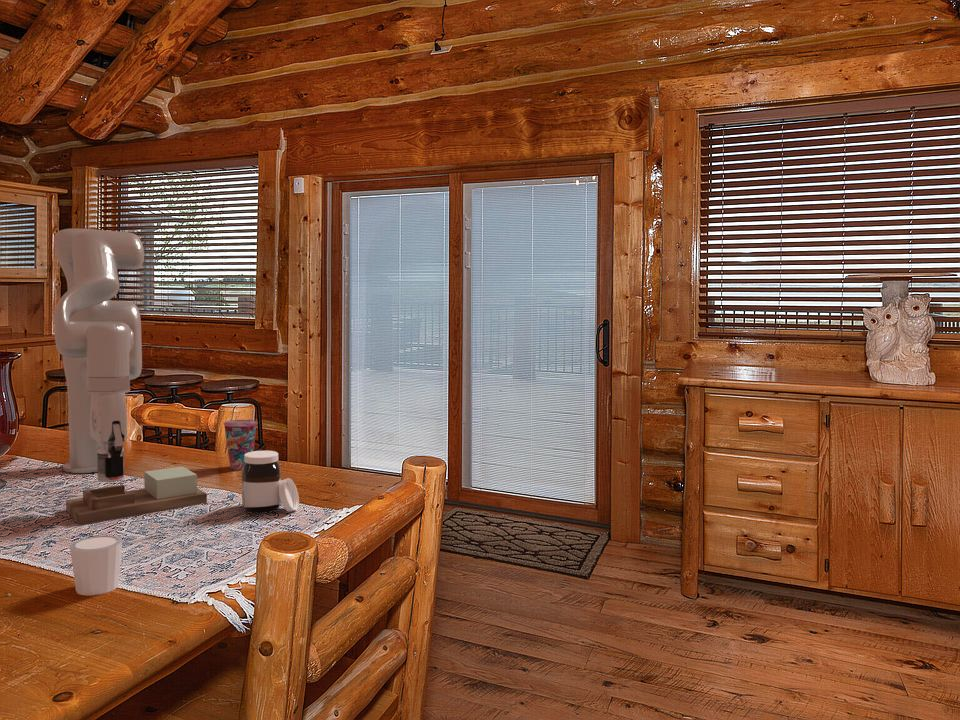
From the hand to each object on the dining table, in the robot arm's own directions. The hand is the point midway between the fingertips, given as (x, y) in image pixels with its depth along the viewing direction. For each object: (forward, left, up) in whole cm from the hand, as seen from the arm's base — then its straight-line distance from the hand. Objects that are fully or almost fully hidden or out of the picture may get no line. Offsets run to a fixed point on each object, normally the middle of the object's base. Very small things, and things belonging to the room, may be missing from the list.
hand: (110, 473), depth 138 cm
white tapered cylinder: (+39, -11, -8) cm, 41 cm away
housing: (0, +5, -8) cm, 9 cm away
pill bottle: (0, 0, -2) cm, 2 cm away
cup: (-19, +35, -8) cm, 41 cm away
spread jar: (+18, +26, -8) cm, 33 cm away
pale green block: (0, +12, -6) cm, 13 cm away
